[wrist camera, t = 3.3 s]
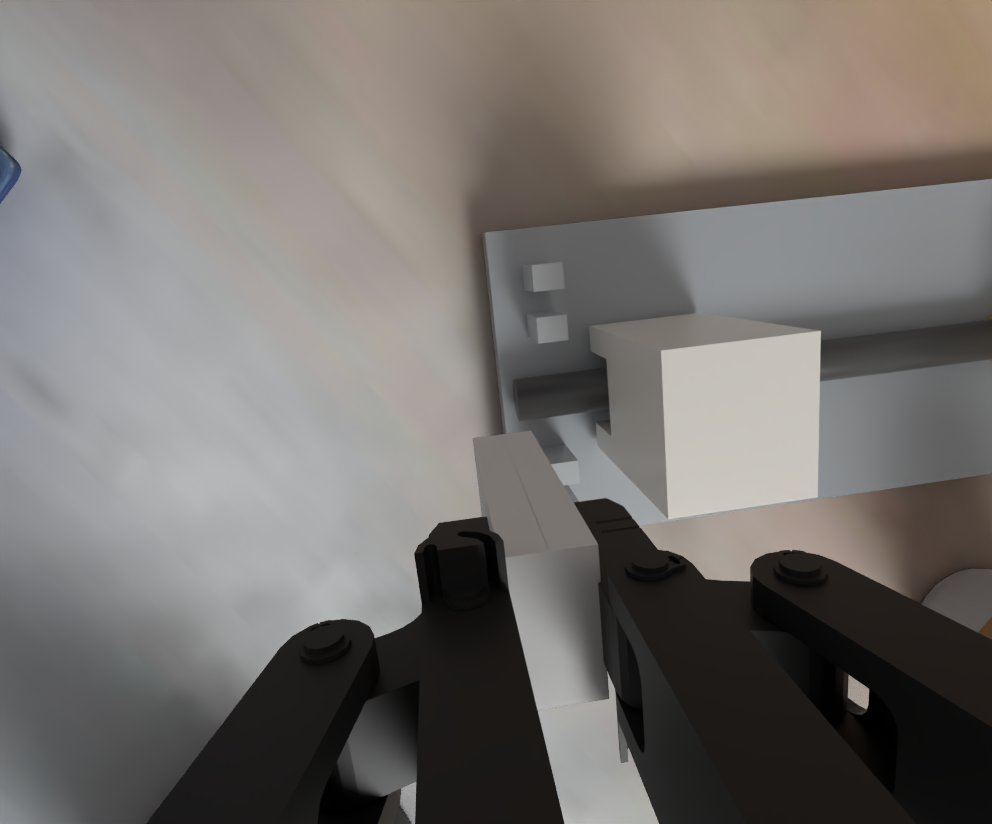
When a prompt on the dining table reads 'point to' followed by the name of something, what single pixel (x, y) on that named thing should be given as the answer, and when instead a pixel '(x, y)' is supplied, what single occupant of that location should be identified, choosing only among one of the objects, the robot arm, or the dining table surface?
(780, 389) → the cream rail slider block
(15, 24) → the dining table surface
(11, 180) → the flower pot
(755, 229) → the sliding block rail
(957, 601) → the coffee cup
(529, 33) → the dining table surface
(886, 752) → the robot arm
